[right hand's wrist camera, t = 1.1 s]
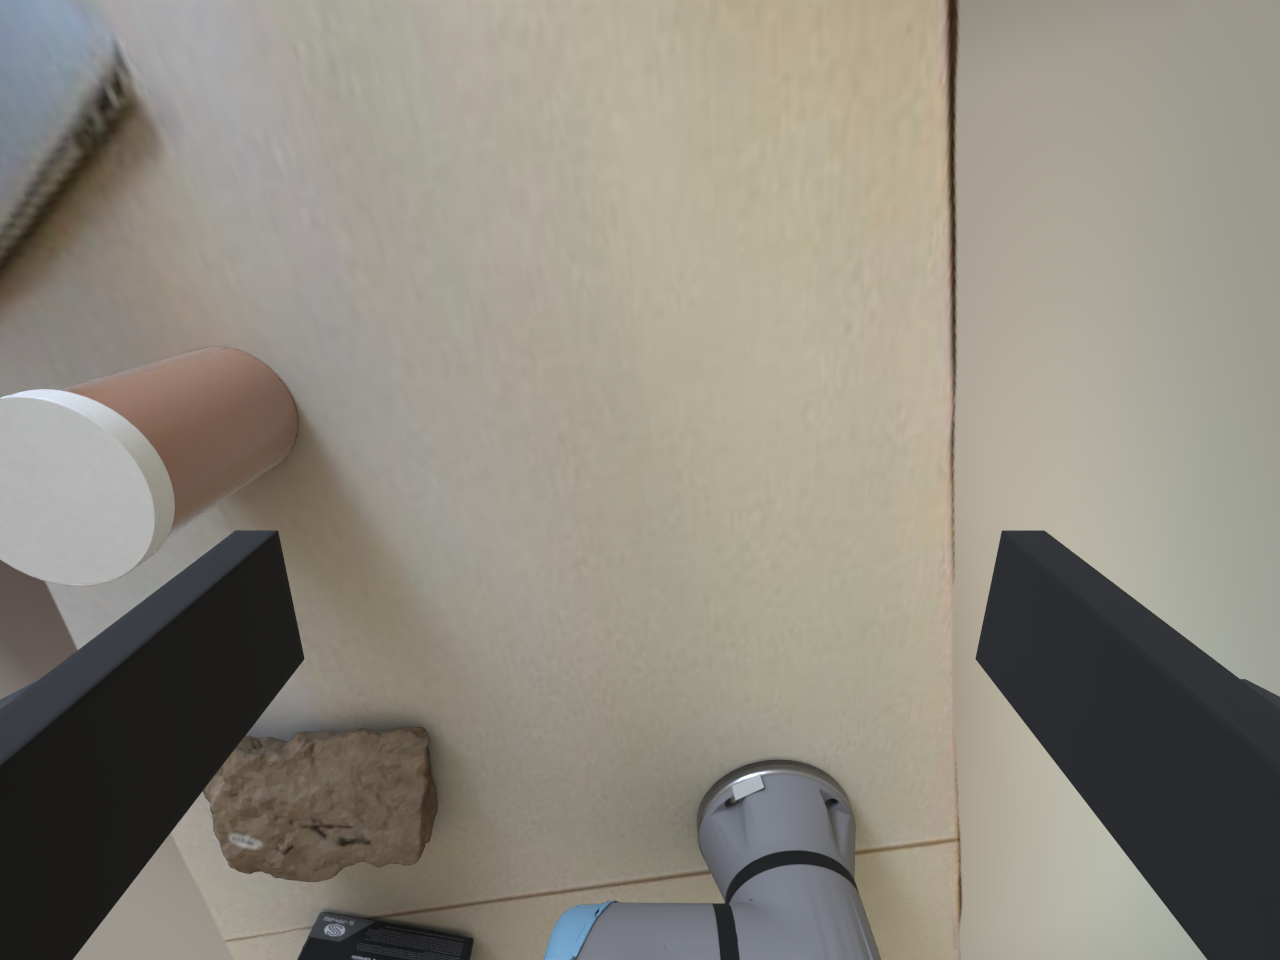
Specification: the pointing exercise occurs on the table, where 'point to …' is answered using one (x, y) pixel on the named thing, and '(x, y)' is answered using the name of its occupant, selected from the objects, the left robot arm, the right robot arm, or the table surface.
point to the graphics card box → (379, 941)
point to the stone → (324, 802)
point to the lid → (78, 489)
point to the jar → (204, 421)
